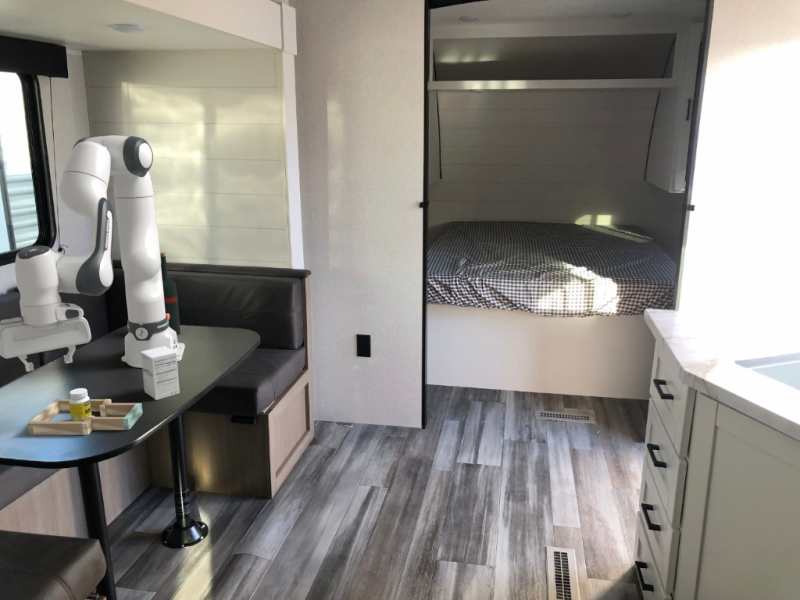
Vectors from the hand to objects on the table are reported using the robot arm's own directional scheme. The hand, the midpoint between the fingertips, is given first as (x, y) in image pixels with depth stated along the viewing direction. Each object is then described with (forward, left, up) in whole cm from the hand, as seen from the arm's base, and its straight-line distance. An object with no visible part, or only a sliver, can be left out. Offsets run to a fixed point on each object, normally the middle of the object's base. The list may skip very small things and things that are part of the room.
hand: (49, 366), depth 160 cm
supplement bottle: (0, +6, -15) cm, 17 cm away
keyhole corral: (0, +8, -15) cm, 17 cm away
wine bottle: (-71, +5, -15) cm, 73 cm away
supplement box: (-18, +21, -15) cm, 31 cm away
